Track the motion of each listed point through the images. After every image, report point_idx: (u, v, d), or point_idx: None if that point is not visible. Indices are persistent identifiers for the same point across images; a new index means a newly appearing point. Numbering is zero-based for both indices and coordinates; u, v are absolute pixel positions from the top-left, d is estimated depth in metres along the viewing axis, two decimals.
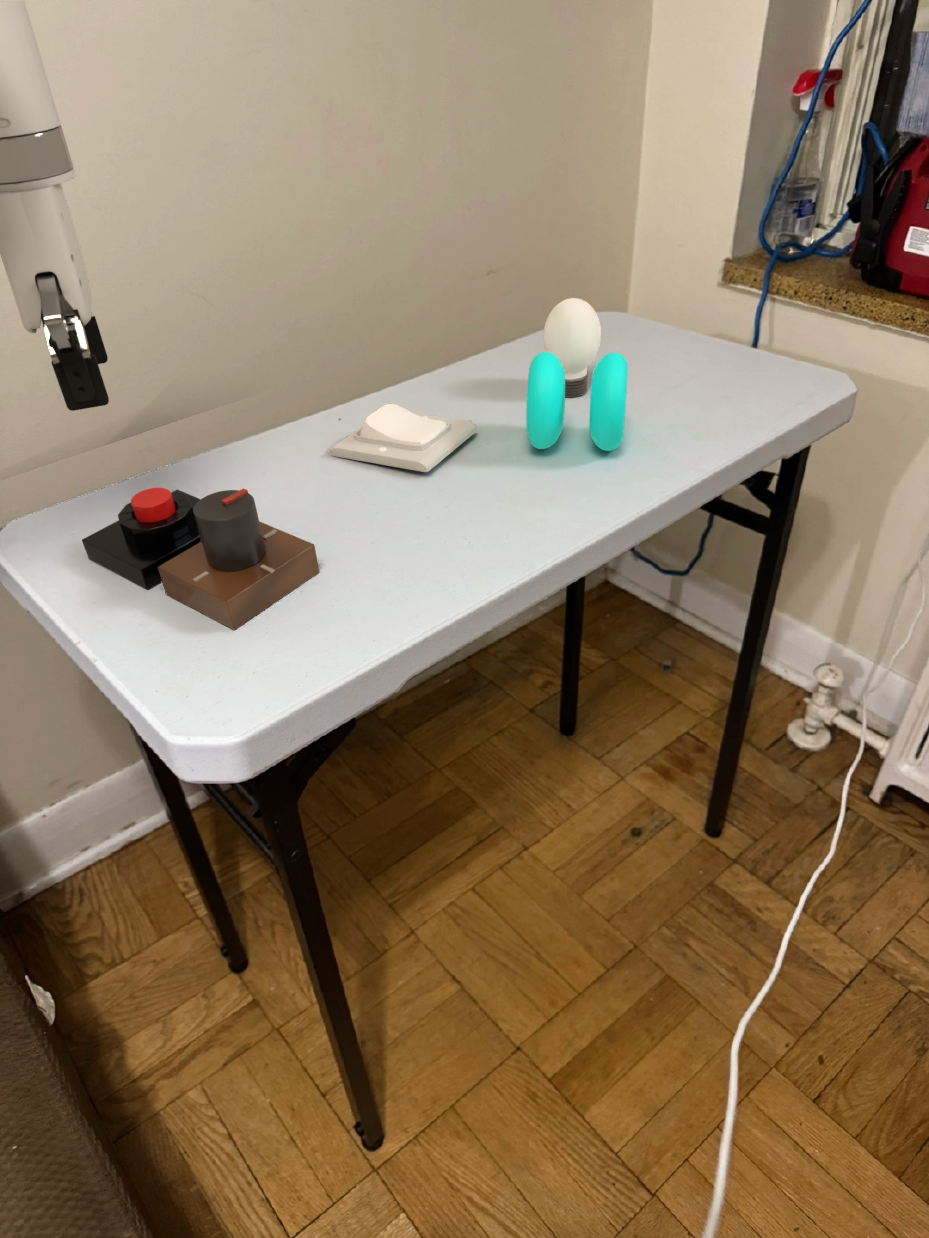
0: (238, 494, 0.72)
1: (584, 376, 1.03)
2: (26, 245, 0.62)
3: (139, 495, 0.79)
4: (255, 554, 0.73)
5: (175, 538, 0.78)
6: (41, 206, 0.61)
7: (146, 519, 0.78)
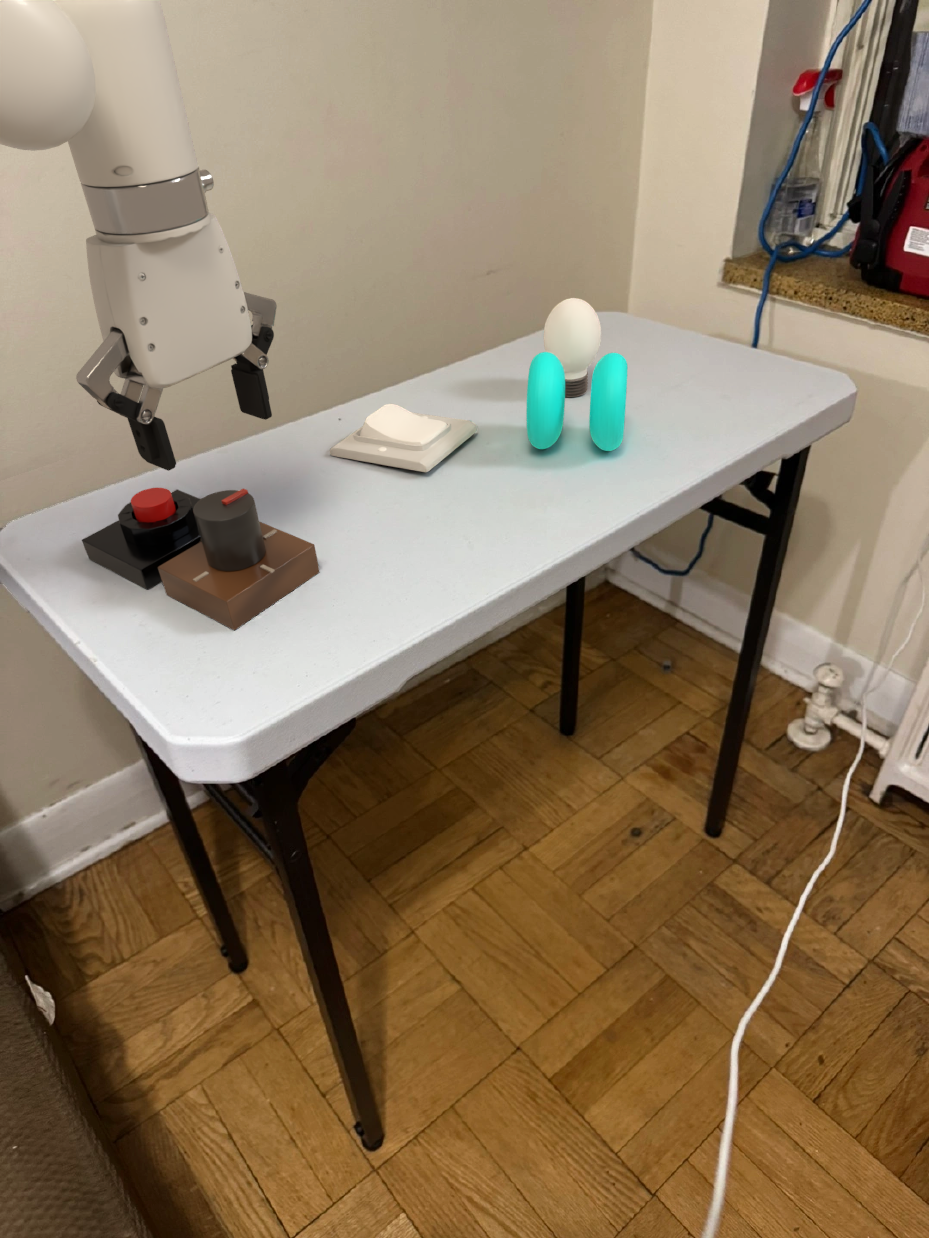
0: (238, 494, 0.72)
1: (584, 376, 1.03)
2: (103, 297, 0.58)
3: (139, 495, 0.79)
4: (255, 554, 0.73)
5: (175, 538, 0.78)
6: (114, 263, 0.56)
7: (146, 519, 0.78)
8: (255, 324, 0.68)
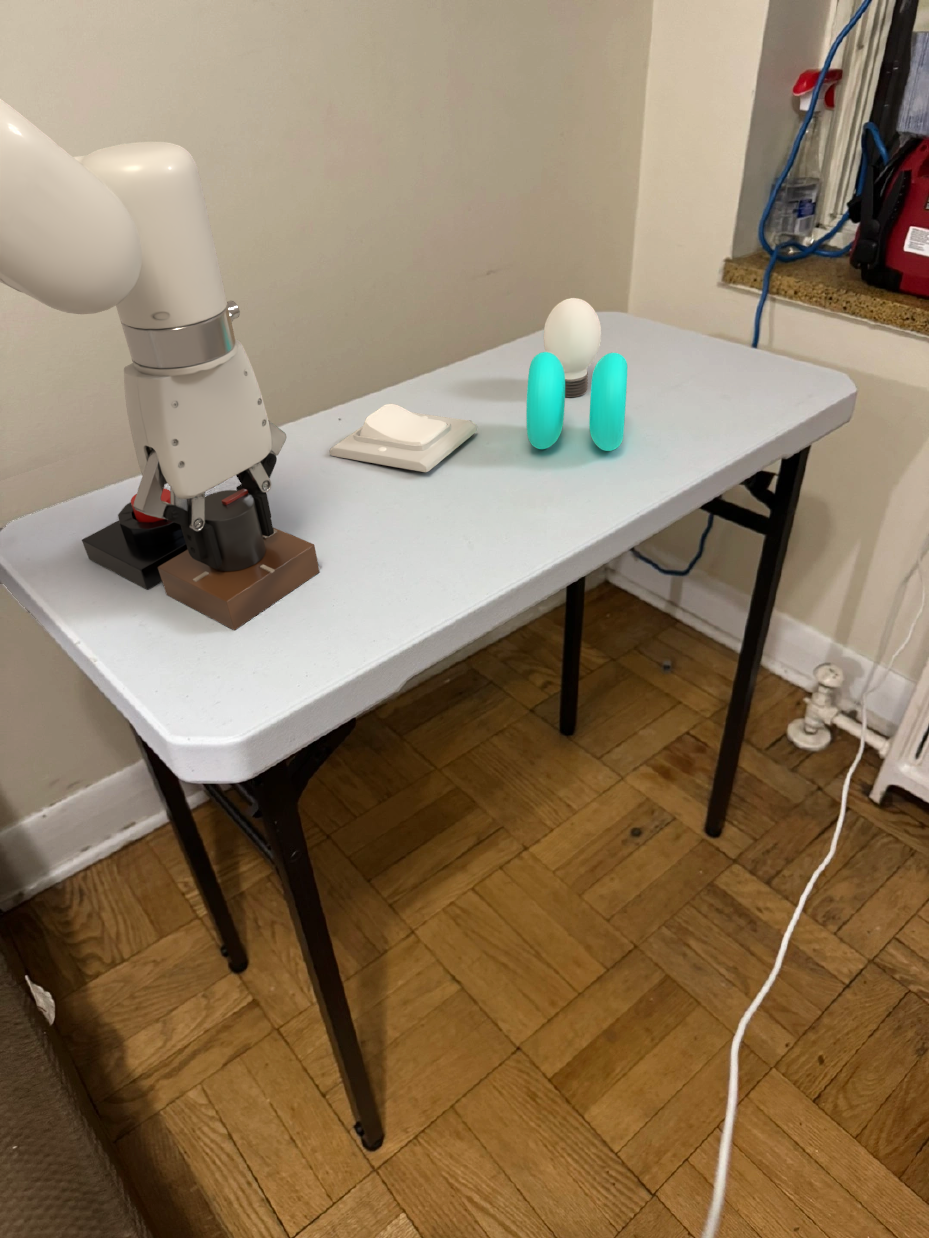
0: (238, 494, 0.72)
1: (584, 376, 1.03)
2: (138, 420, 0.63)
3: None
4: (255, 554, 0.73)
5: (175, 538, 0.78)
6: (150, 393, 0.61)
7: (146, 519, 0.78)
8: None
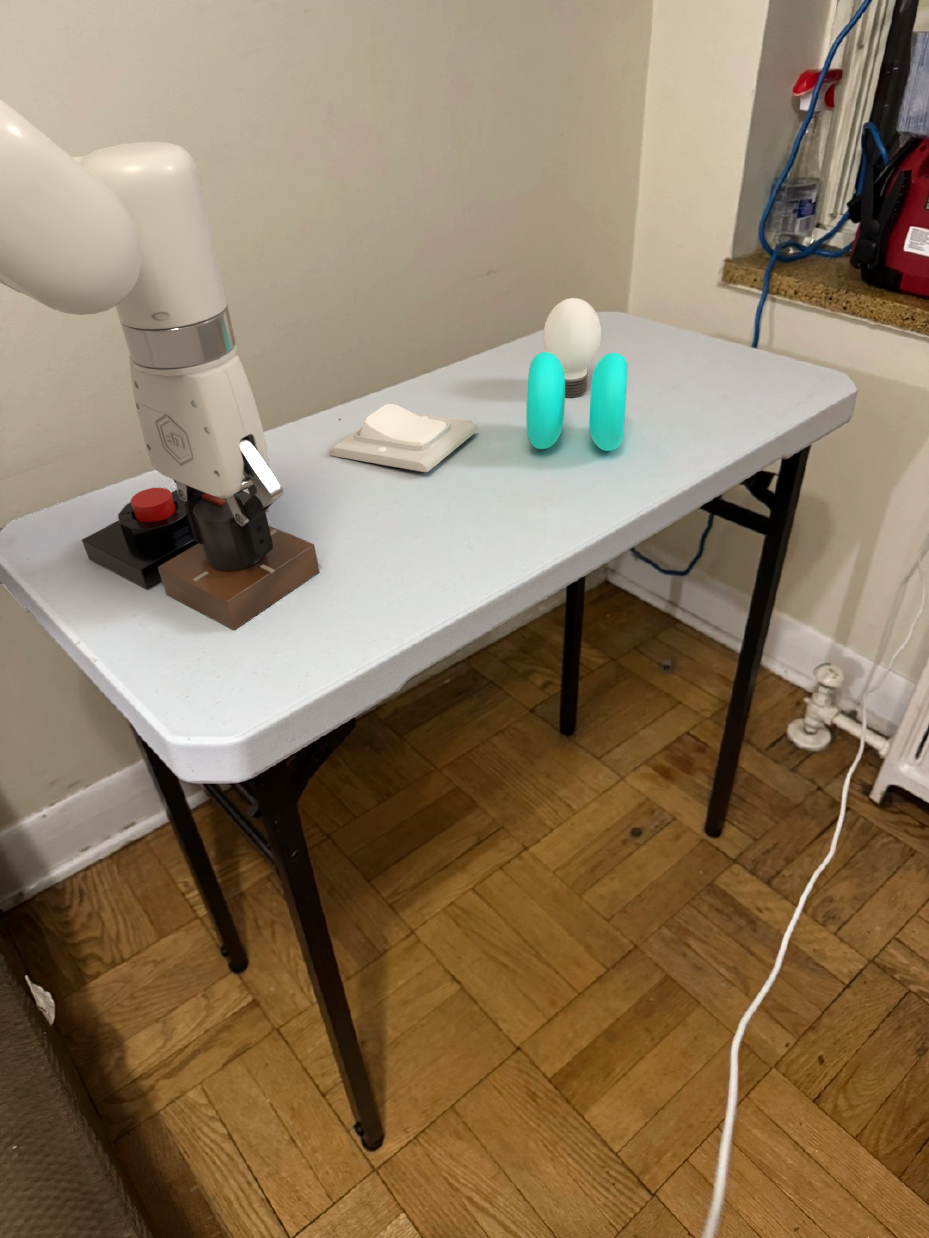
0: None
1: (584, 376, 1.03)
2: (234, 415, 0.63)
3: (139, 495, 0.79)
4: None
5: (175, 538, 0.78)
6: (240, 375, 0.63)
7: (146, 519, 0.78)
8: None
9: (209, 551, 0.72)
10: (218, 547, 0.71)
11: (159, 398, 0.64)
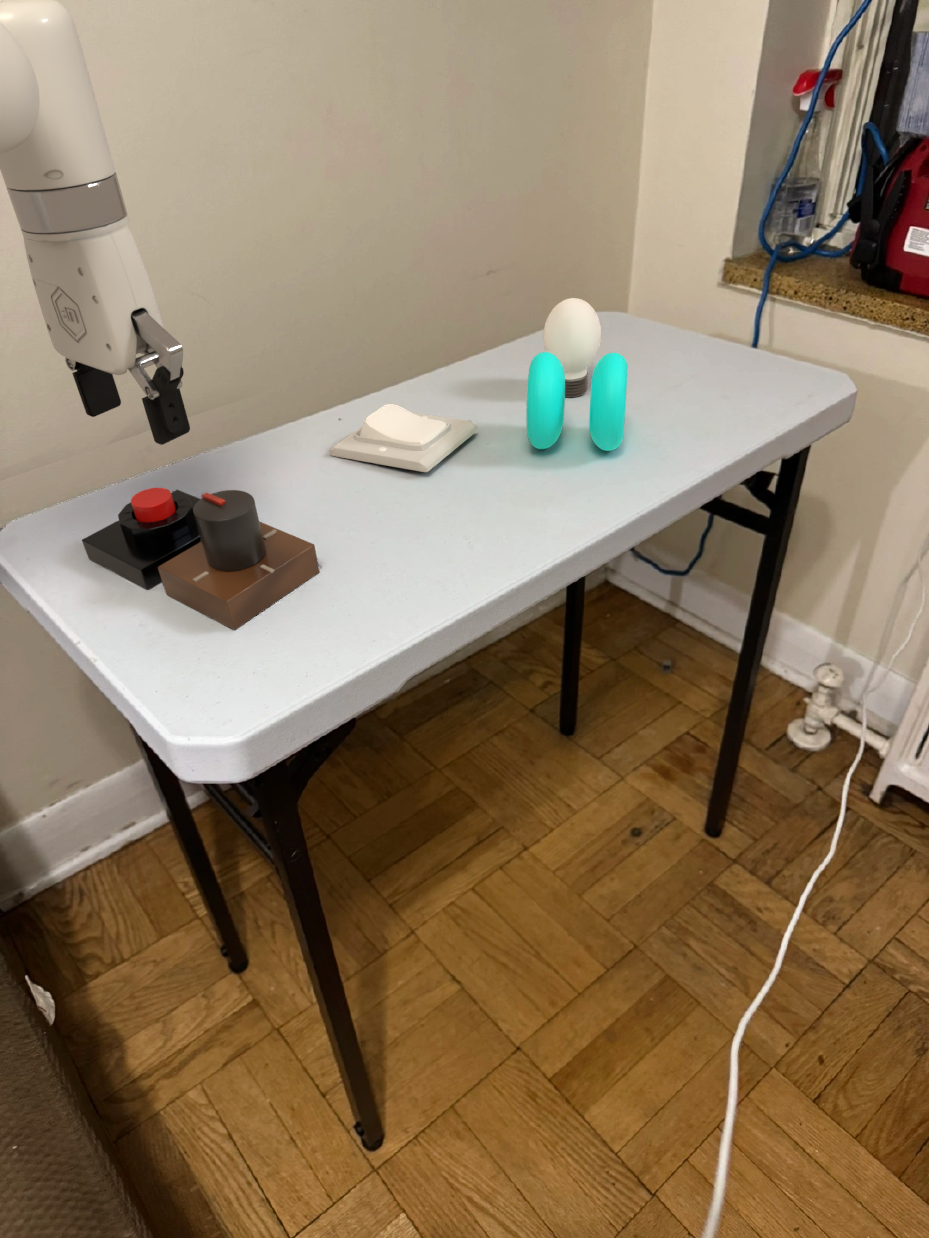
0: (213, 495, 0.72)
1: (584, 376, 1.03)
2: (123, 285, 0.63)
3: (139, 495, 0.79)
4: None
5: (175, 538, 0.78)
6: (129, 245, 0.63)
7: (146, 519, 0.78)
8: None
9: (209, 551, 0.72)
10: (217, 547, 0.71)
11: (50, 269, 0.64)
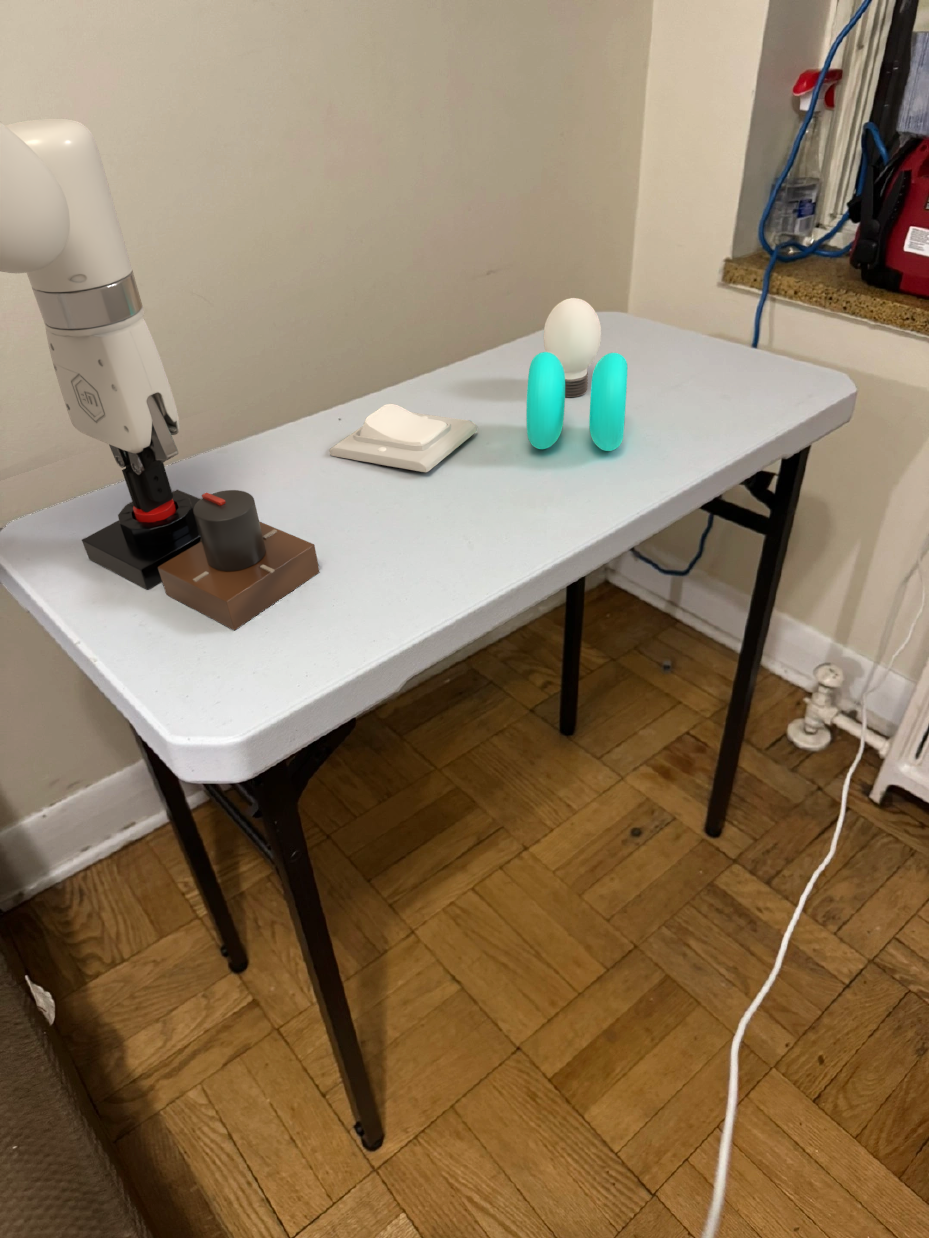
0: (213, 495, 0.72)
1: (584, 376, 1.03)
2: (140, 373, 0.68)
3: None
4: None
5: (175, 538, 0.78)
6: (145, 336, 0.68)
7: None
8: None
9: (209, 551, 0.72)
10: (217, 547, 0.71)
11: (71, 358, 0.69)
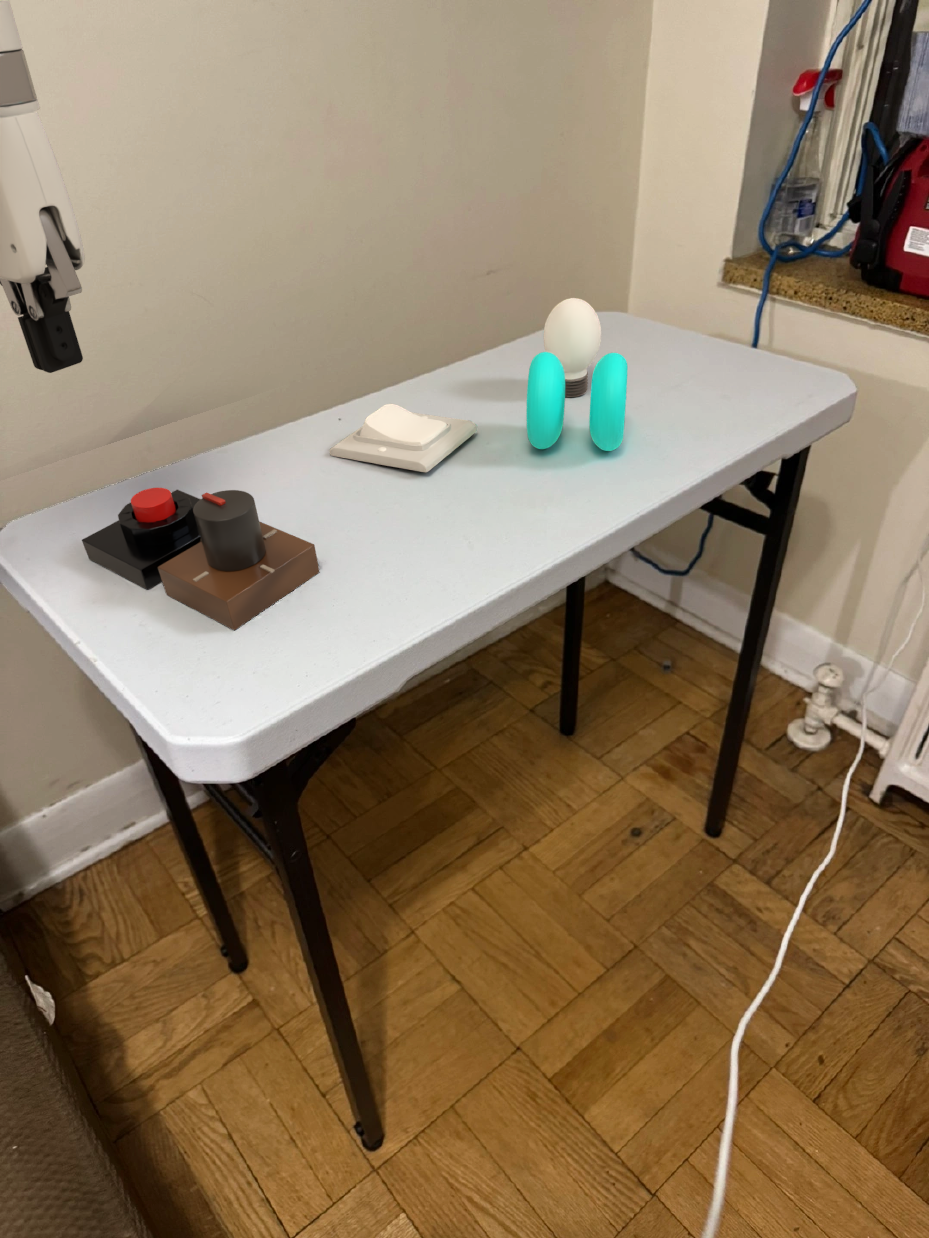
0: (213, 495, 0.72)
1: (584, 376, 1.03)
2: (29, 176, 0.56)
3: (139, 495, 0.79)
4: None
5: (175, 538, 0.78)
6: (37, 131, 0.56)
7: (146, 519, 0.78)
8: None
9: (209, 551, 0.72)
10: (217, 547, 0.71)
11: None
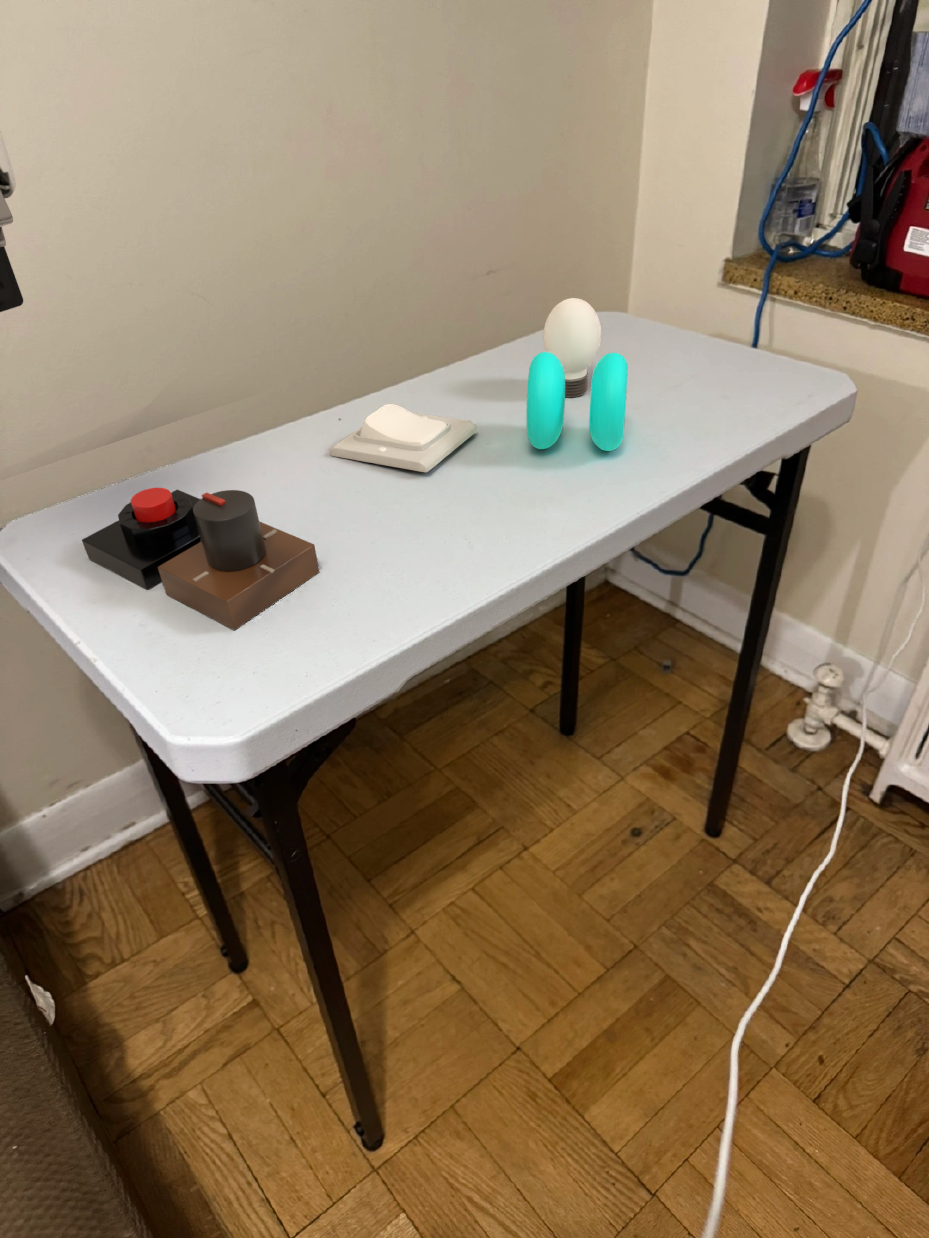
0: (213, 495, 0.72)
1: (584, 376, 1.03)
2: None
3: (139, 495, 0.79)
4: None
5: (175, 538, 0.78)
6: None
7: (146, 519, 0.78)
8: None
9: (209, 551, 0.72)
10: (217, 547, 0.71)
11: None
